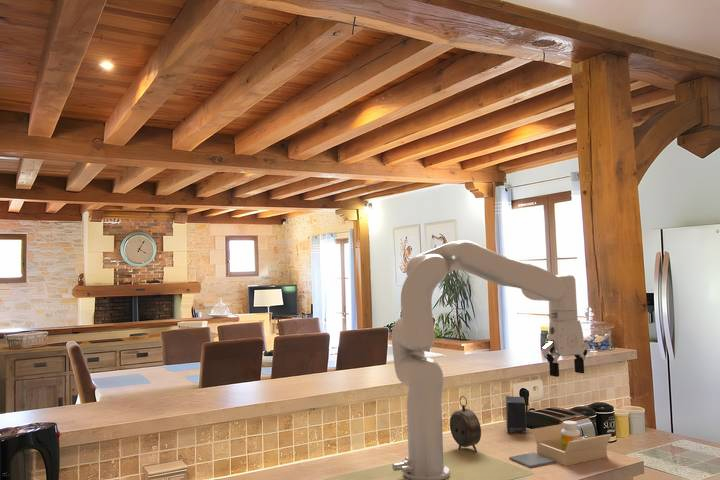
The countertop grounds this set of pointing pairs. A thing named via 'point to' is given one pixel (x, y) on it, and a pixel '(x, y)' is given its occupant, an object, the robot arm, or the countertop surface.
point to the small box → (515, 415)
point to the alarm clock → (465, 427)
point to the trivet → (532, 460)
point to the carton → (569, 446)
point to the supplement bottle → (569, 433)
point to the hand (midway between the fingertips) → (567, 374)
